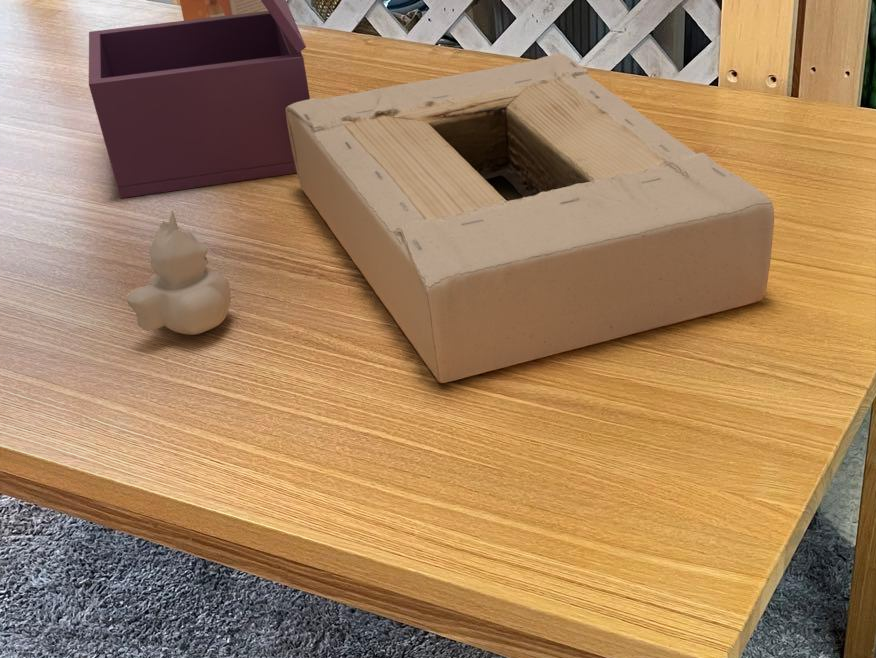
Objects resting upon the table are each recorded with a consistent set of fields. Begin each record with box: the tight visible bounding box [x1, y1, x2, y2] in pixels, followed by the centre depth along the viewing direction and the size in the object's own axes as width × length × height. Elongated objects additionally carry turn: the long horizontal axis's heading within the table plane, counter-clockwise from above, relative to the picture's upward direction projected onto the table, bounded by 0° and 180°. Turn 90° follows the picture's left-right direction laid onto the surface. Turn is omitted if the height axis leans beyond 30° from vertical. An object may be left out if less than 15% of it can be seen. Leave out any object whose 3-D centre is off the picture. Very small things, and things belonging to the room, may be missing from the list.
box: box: [285, 53, 775, 384], centre depth 82 cm, size 23×8×32 cm
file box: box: [88, 11, 311, 199], centre depth 95 cm, size 16×13×9 cm
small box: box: [179, 0, 268, 21], centre depth 111 cm, size 8×6×10 cm
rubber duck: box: [126, 209, 232, 336], centre depth 73 cm, size 5×7×8 cm
